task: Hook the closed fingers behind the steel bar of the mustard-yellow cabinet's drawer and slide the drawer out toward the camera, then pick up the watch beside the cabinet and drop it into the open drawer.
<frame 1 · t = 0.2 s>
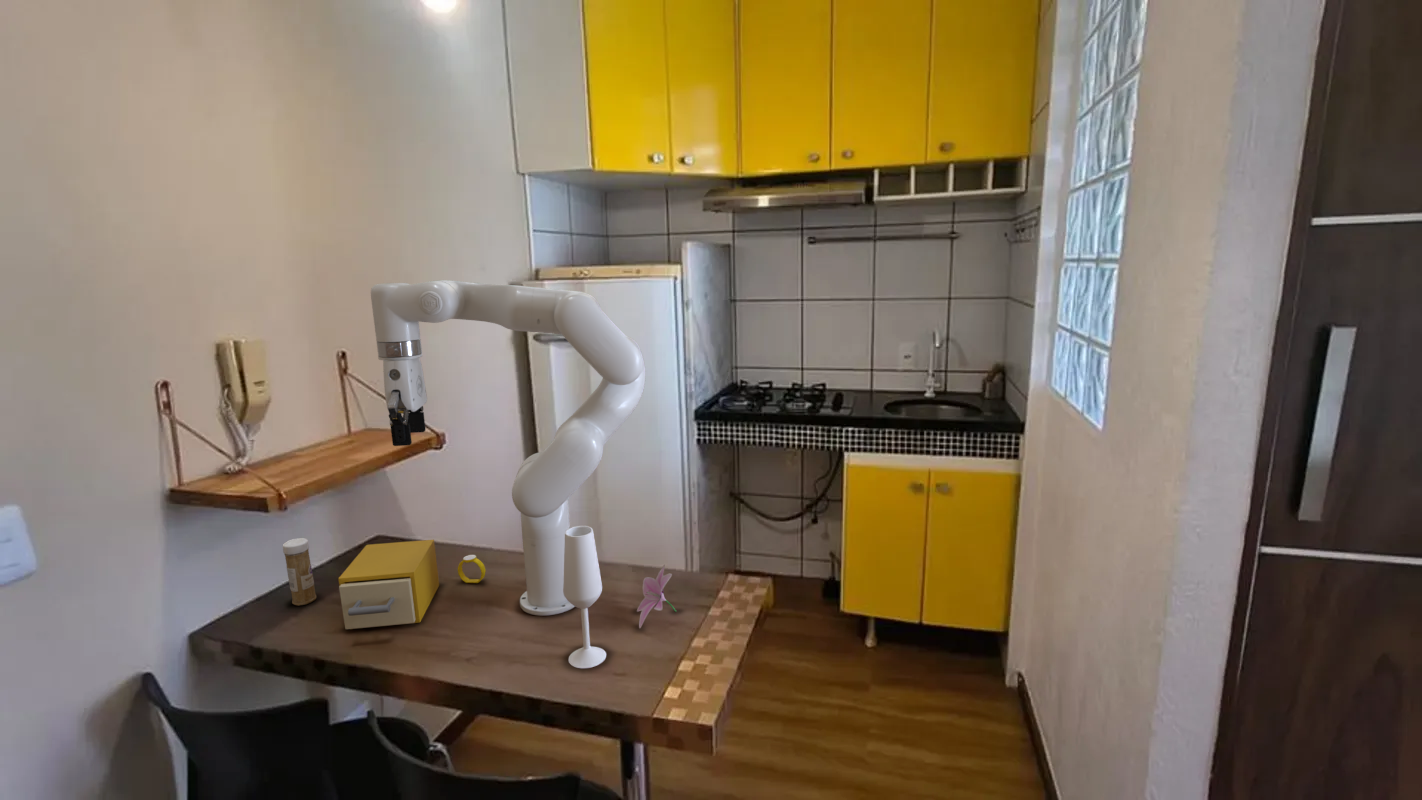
hand: (410, 438, 129), 37 cm above the table, tool pointing down, fingers open, 9 cm apart
watch: (473, 582, 150), on the table
cabinet: (395, 606, 140), on the table
lily: (655, 616, 134), on the table
champagne flute: (587, 658, 120), on the table
drawer: (385, 592, 134), point 5 cm above the table, slide at 0.5 cm
sprinkles bottle: (304, 601, 143), on the table
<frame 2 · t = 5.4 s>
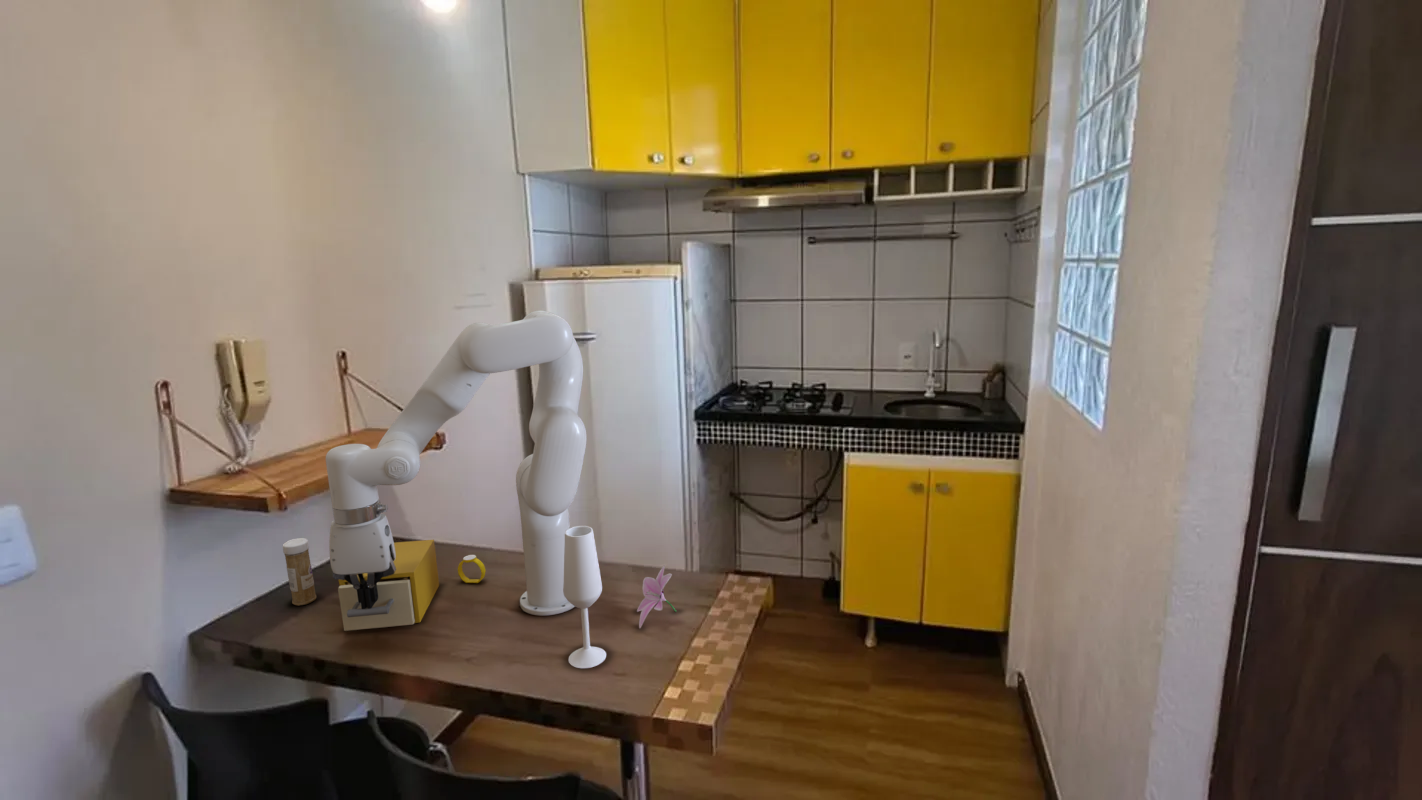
hand: (369, 605, 126), 7 cm above the table, tool pointing down, fingers closed
drawer: (384, 594, 134), point 5 cm above the table, slide at 1.1 cm, touching gripper
everything else where it was.
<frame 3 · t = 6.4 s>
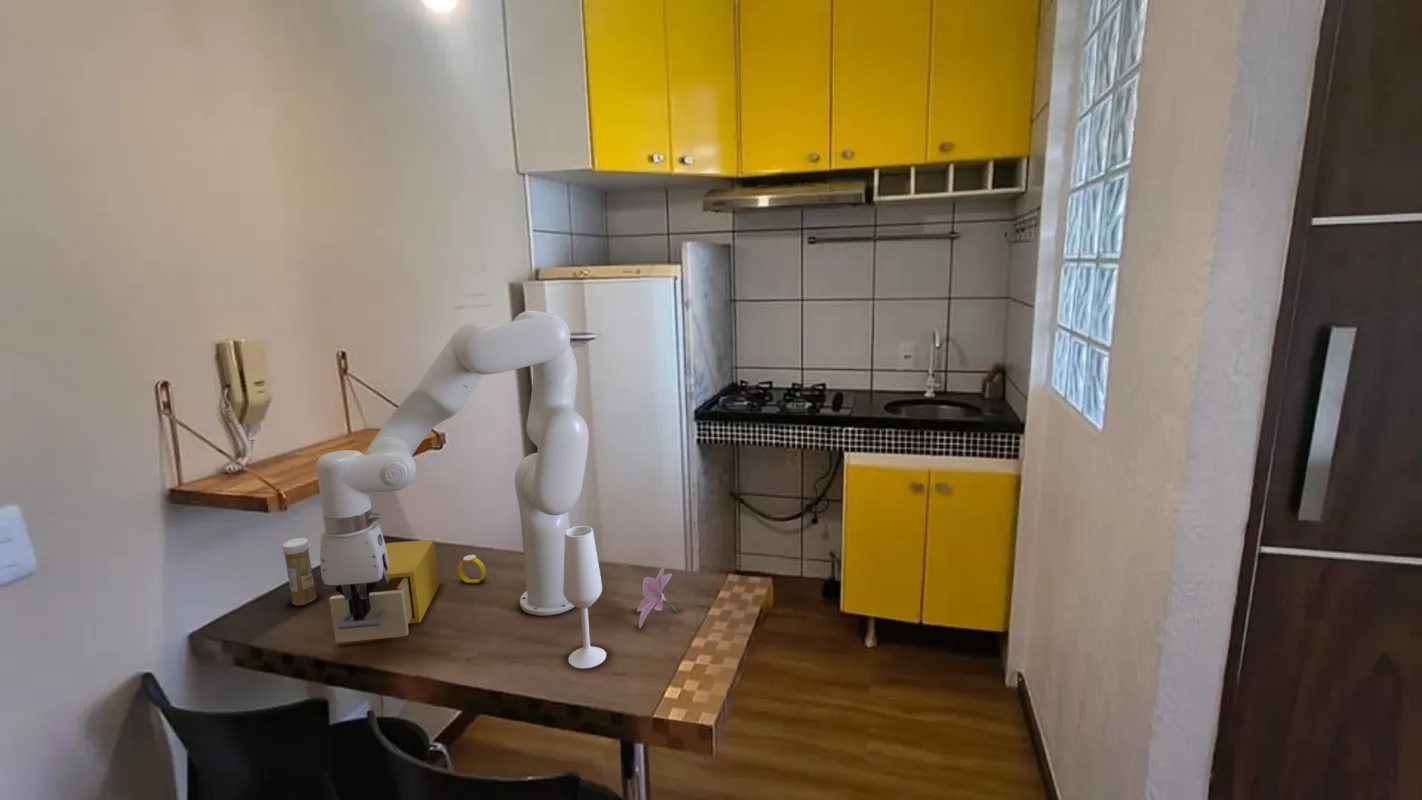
hand: (361, 616, 122), 7 cm above the table, tool pointing down, fingers closed
drawer: (377, 604, 130), point 5 cm above the table, slide at 5.2 cm, touching gripper
everything else where it was.
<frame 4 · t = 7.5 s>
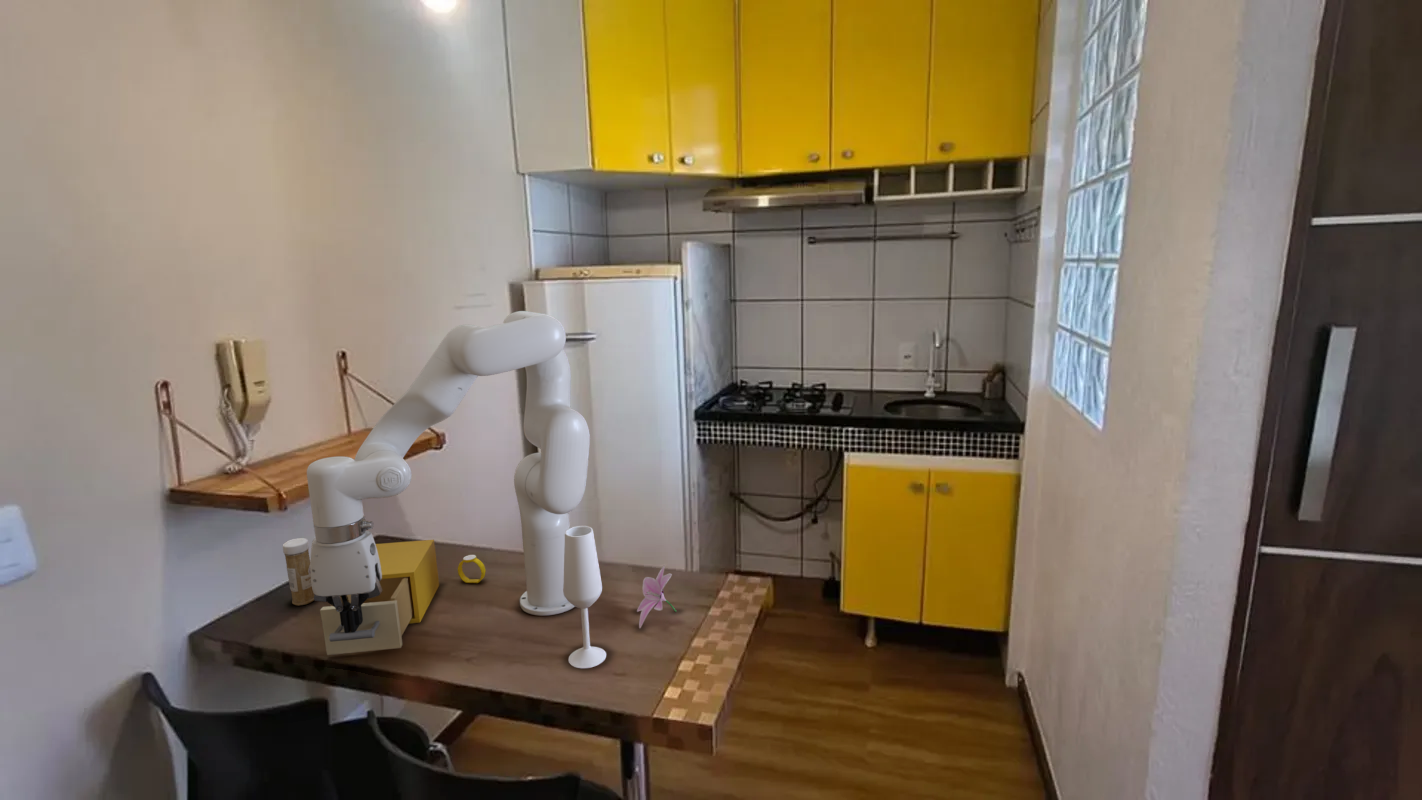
hand: (352, 628, 118), 7 cm above the table, tool pointing down, fingers closed
drawer: (370, 615, 126), point 5 cm above the table, slide at 9.2 cm, touching gripper
everything else where it was.
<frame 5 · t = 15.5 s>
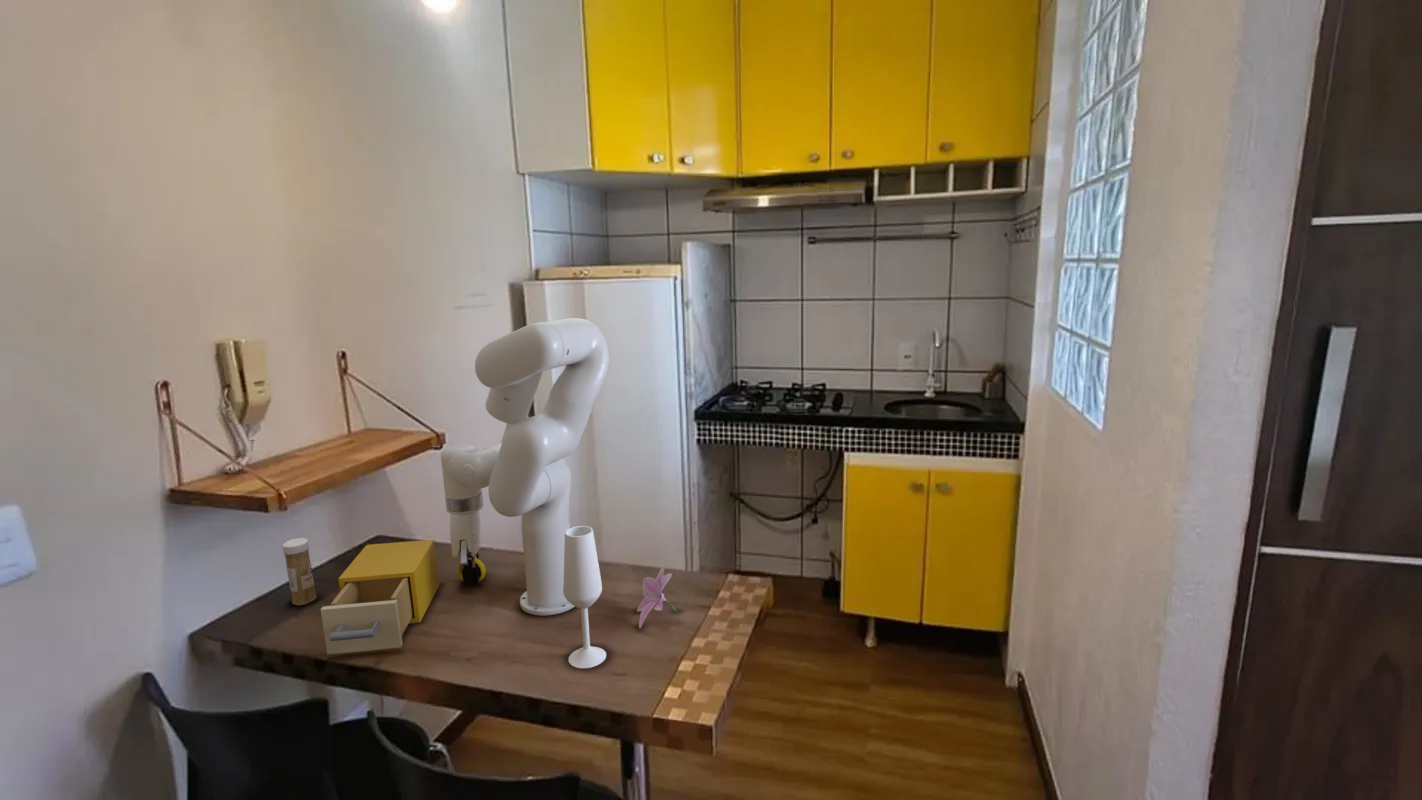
hand: (472, 579, 149), 1 cm above the table, tool pointing down, fingers closed on watch, 2 cm apart
watch: (473, 582, 150), on the table, touching gripper
drawer: (370, 614, 126), point 5 cm above the table, slide at 9.1 cm
everything else where it was.
when the fingers open (6 cm above the table, at t = 28.5 s): watch stays where it is, point 5 cm above the table.
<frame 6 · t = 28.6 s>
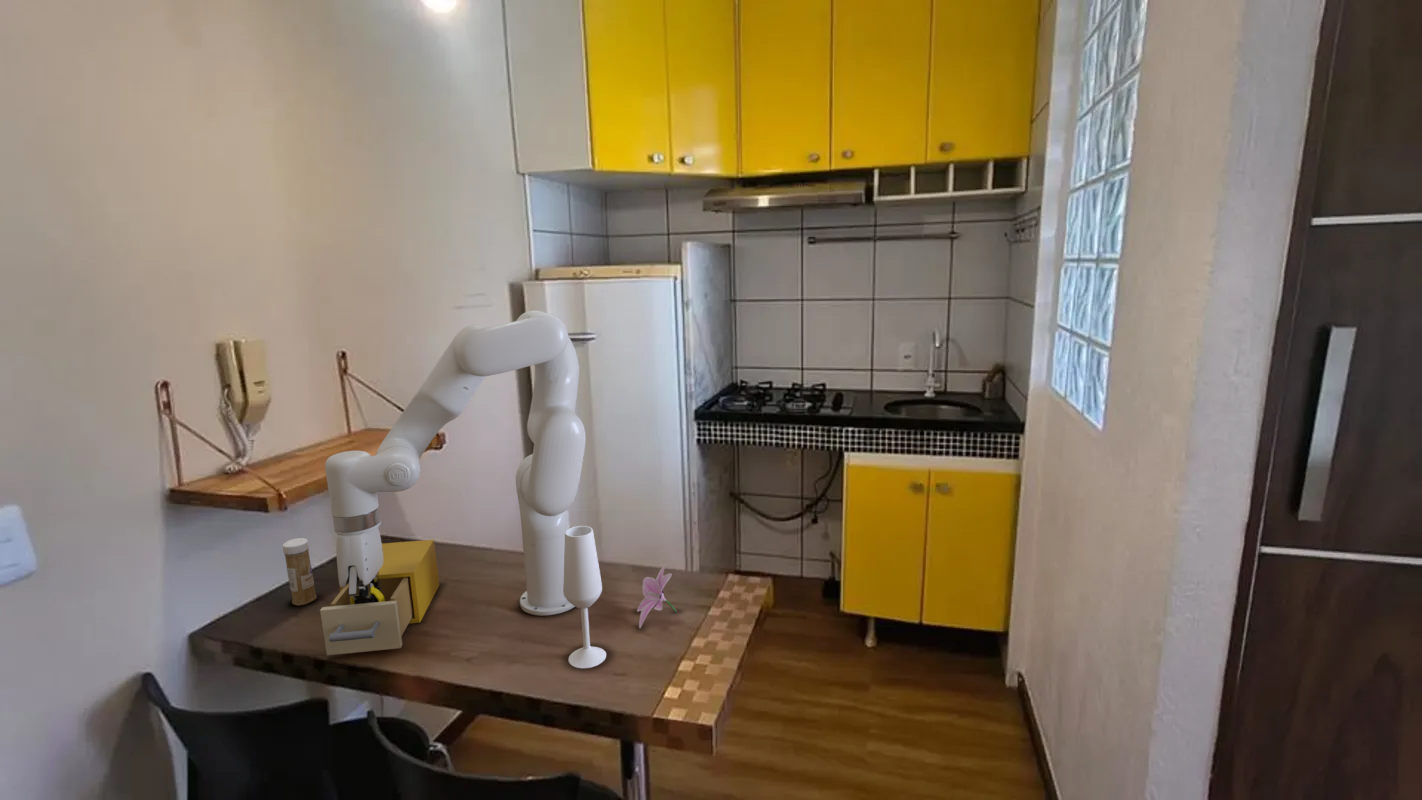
hand: (369, 611, 126), 6 cm above the table, tool pointing down
watch: (370, 616, 126), point 5 cm above the table
drawer: (370, 615, 126), point 5 cm above the table, slide at 9.3 cm, touching gripper
everything else where it was.
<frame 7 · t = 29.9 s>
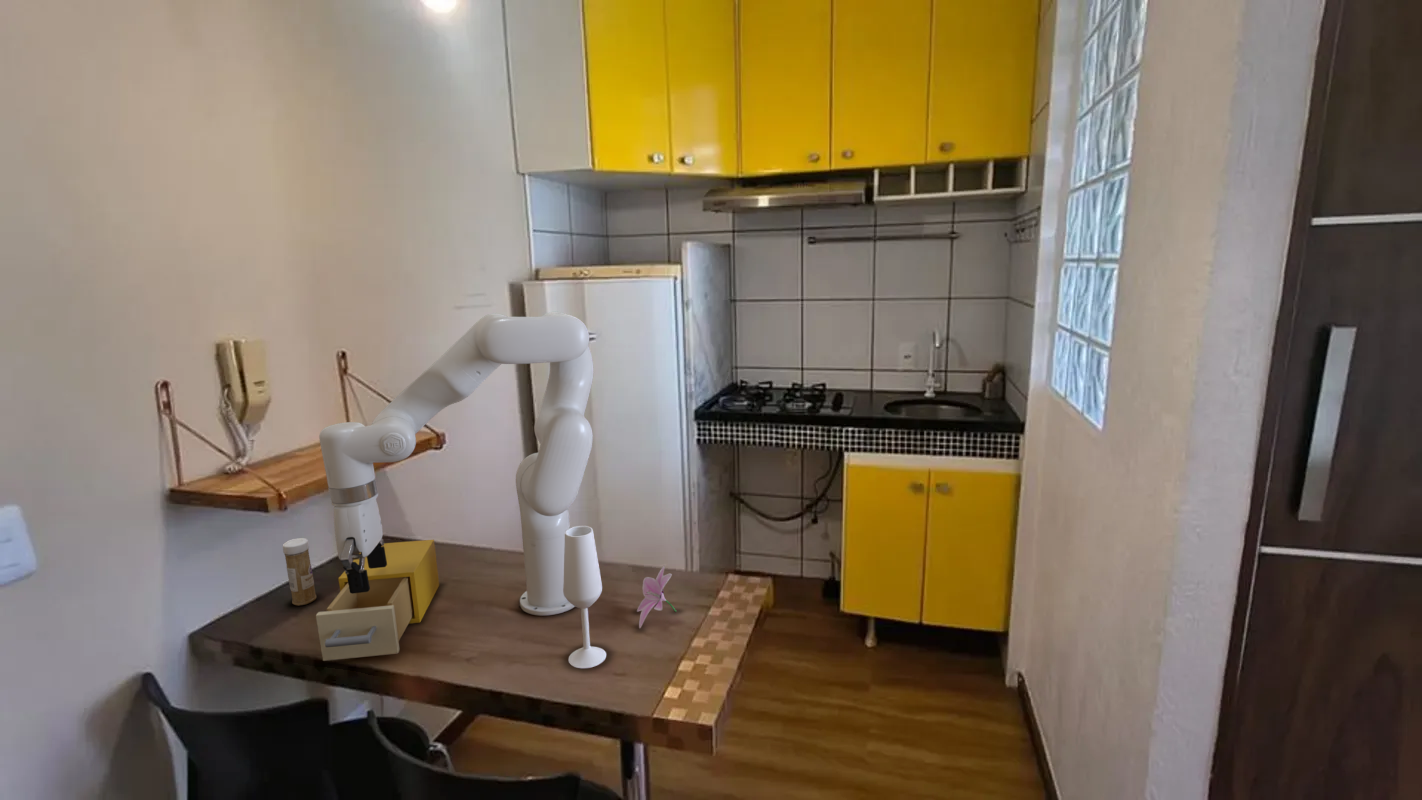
hand: (369, 579, 124), 13 cm above the table, tool pointing down, fingers open, 9 cm apart
watch: (369, 631, 126), point 2 cm above the table, touching drawer
drawer: (367, 620, 124), point 5 cm above the table, slide at 11.0 cm, touching watch
everything else where it was.
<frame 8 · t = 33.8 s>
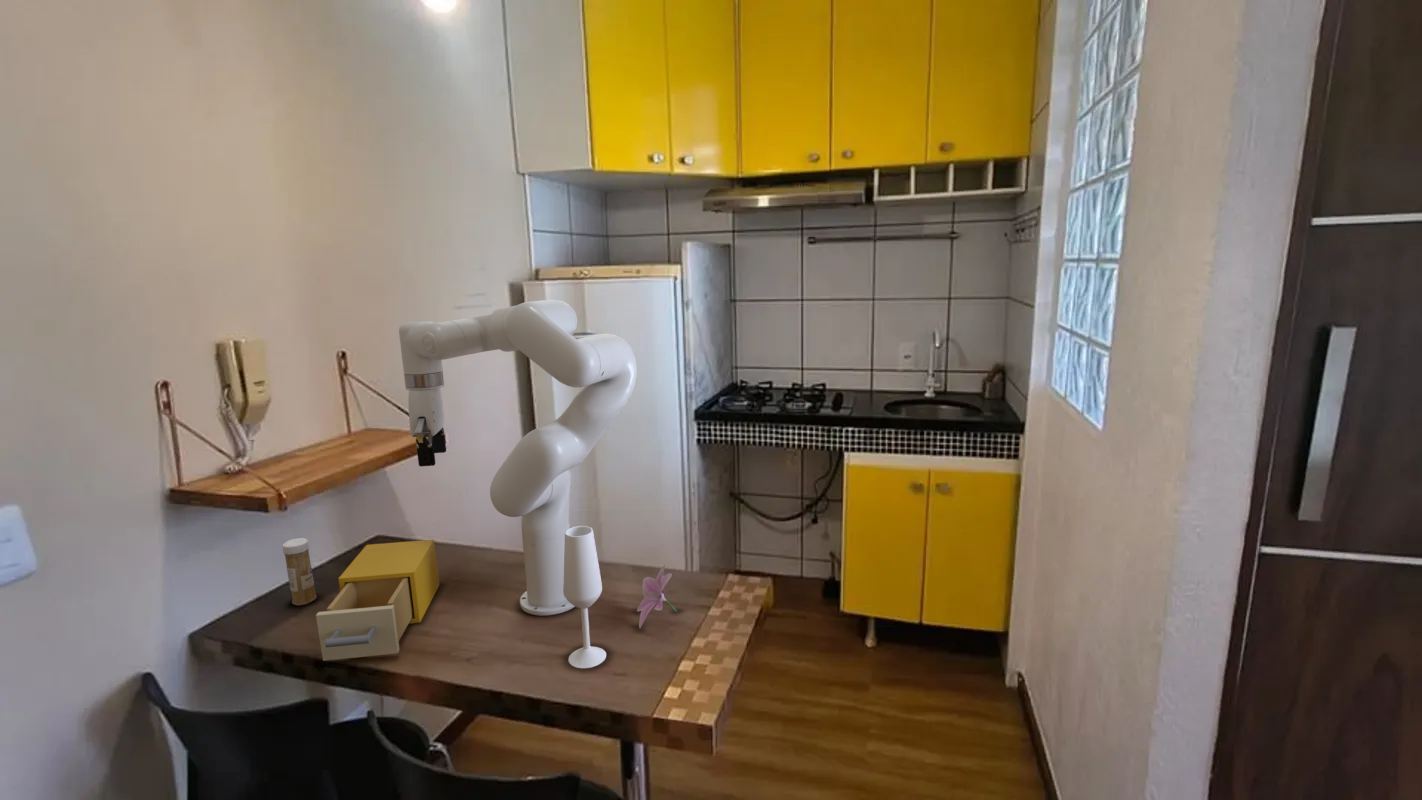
hand: (433, 458, 145), 28 cm above the table, tool pointing down, fingers open, 9 cm apart
nothing on the table moved.
at the end: drawer slide at 11.0 cm; watch inside the target area in the drawer (0.9 cm from its centre), point 2.4 cm above the cabinet's base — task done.
